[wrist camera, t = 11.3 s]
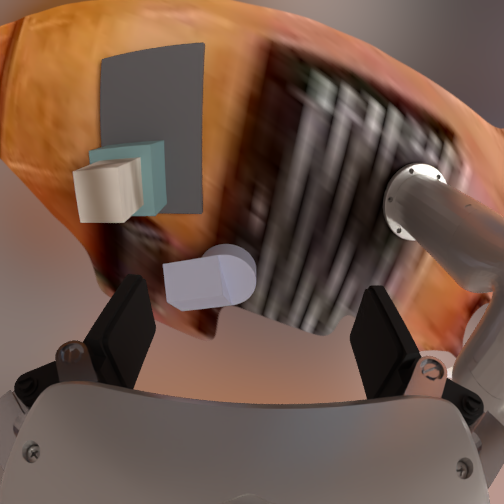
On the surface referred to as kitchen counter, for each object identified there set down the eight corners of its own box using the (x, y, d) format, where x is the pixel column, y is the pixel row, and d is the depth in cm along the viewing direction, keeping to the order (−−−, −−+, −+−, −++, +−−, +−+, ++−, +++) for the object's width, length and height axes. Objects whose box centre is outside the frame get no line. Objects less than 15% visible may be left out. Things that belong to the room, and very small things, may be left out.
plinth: (164, 140, 33) (150, 144, 29) (167, 203, 37) (155, 216, 33) (107, 145, 33) (88, 151, 29) (112, 204, 37) (96, 216, 33)
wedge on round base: (186, 298, 46) (260, 288, 45) (177, 324, 40) (261, 315, 39) (168, 253, 42) (250, 239, 41) (155, 276, 36) (248, 262, 35)
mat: (205, 44, 28) (203, 42, 27) (202, 211, 39) (201, 213, 38) (105, 60, 28) (101, 59, 27) (111, 211, 39) (108, 213, 38)
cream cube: (140, 157, 29) (117, 167, 24) (143, 204, 32) (123, 222, 27) (99, 160, 29) (72, 171, 24) (104, 205, 32) (80, 222, 27)
